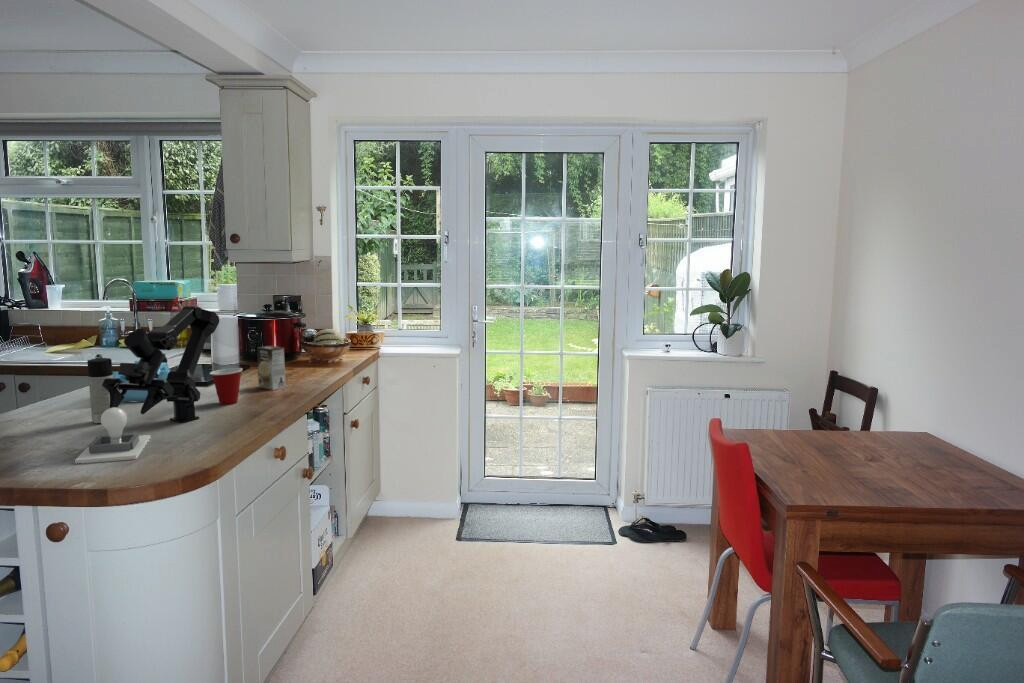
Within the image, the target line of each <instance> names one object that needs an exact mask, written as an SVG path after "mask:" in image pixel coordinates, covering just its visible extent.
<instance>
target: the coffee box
mask: <svg viewBox="0 0 1024 683" xmlns="http://www.w3.org/2000/svg"><path fill="white" fill-rule="evenodd" d="M256 349H257V350H256V354H257V357H256V358H257V377H258V378H257V379H258V380H257V381H258V382H257V383H258V388H263V389H265V390H271V391H274V390H278V389H284V388H286V368H285V347H283V346H282V347H281V346H277V345H276V346H275V345H264V346H258V347H256Z"/></svg>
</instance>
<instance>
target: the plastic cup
mask: <svg viewBox="0 0 1024 683" xmlns="http://www.w3.org/2000/svg"><path fill="white" fill-rule="evenodd" d="M242 372H243V368H242V367H231V368H221V369H217V370H214V371H210V372H209V375H211V378H212V380H213V383H214V387H215V390H216V394H217V397H218V401H219V404H220V405H223V406H224V405H226V406H227V405H234V404H237V403H238V400H239V393H240V385H241V377H242Z"/></svg>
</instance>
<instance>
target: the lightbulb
mask: <svg viewBox="0 0 1024 683" xmlns="http://www.w3.org/2000/svg"><path fill="white" fill-rule="evenodd" d="M127 423H128V414H127V412H126V411H125V410H124V409H122V408H120V407H119V406H118V407H112V408H109V409H107V410H105V411H104V412H103V414H102V415H101V426H102V427H103V428H104V430H106V431H107V434H108V435H109V436H110V441H111V444H115V443H122V440H121V435H122V434H123V431H124V428H125V427H126V424H127Z"/></svg>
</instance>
